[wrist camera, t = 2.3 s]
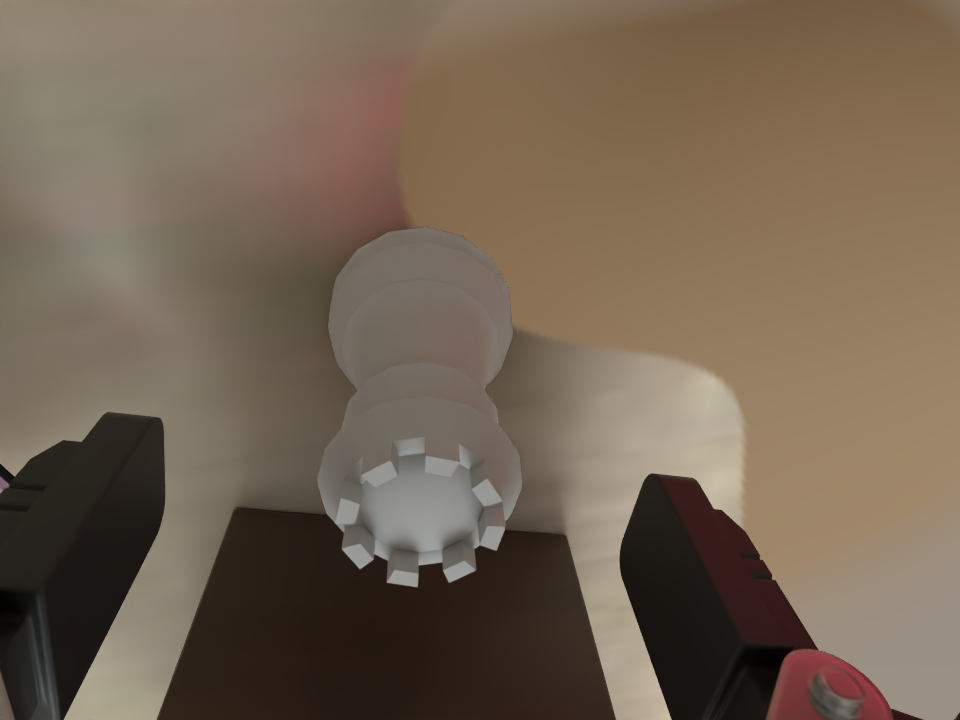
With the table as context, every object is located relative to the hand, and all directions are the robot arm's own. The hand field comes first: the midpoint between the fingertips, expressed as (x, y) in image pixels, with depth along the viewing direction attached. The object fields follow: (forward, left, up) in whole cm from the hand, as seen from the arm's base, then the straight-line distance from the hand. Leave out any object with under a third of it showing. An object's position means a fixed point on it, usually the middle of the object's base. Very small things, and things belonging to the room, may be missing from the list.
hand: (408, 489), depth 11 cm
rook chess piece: (0, 0, -7) cm, 7 cm away
